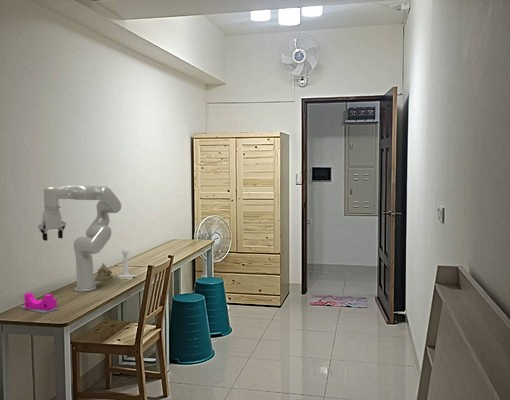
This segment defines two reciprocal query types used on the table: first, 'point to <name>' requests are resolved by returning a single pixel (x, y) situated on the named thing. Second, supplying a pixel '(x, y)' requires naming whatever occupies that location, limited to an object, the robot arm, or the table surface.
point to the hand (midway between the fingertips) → (52, 239)
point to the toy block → (40, 302)
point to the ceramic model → (103, 273)
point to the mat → (40, 310)
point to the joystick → (125, 265)
